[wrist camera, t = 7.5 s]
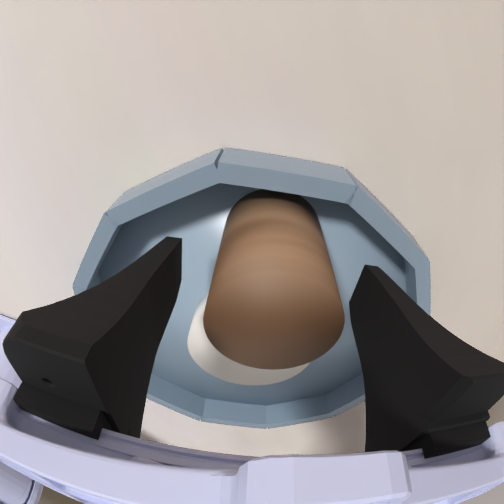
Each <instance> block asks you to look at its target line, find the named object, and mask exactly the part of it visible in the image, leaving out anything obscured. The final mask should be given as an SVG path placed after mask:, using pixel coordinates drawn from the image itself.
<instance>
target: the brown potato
mask: <svg viewBox="0 0 504 504" xmlns="http://www.w3.org/2000/svg"><path fill="white" fill-rule="evenodd" d="M344 324H345V314H344V309H343V305H342V301H341V297H340V294H339V290H338V286H337V282H336V278H335V275H334V271H333V267H332V264H331V260H330V257H329V253H328V250H327V246H326V243H325V239H324V236H323V232H322V229H321V226H320V222H319V219H318V216H317V214H316V212H315V210H314V208H313V207H312V206H311V205H310V203H309V202H308V201H307V200H306V199H304V198H303V197H302V196H300V195H297V194H291V193H285V192H278V191H272V190H266V189H259V190H256V191H253V192H251V193H249V194H247V195H245V196H244V197H242V198H241V199H240V200H239V201H237V203H236V204H235V205H234V206H233V207H232V209H231V210H230V212H229V214H228V216H227V219H226V223H225V227H224V231H223V235H222V239H221V243H220V247H219V251H218V255H217V260H216V264H215V268H214V272H213V276H212V281H211V285H210V289H209V293H208V298H207V302H206V306H205V311H204V317H203V326H204V330H205V333H206V336H207V338H208V339H209V341H210V342H211V344H212V345H213V346H214V347H215V348H216V349H217V350H218V351H219V352H220V353H221V354H223V355H224V356H226V357H227V358H229V359H231V360H232V361H235V362H237V363H239V364H242V365H245V366H249V367H253V368H259V369H270V370H276V369H288V368H293V367H297V366H301V365H304V364H307V363H309V362H312V361H314V360H316V359H318V358H319V357H321V356H322V355H324V354H325V353H326V352H328V351H329V350H330V349H331V348H332V347H333V346H334V345H335V344H336V342H337V341H338V340H339V338H340V336H341V334H342V331H343V329H344Z"/></svg>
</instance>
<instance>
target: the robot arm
mask: <svg viewBox="0 0 504 504" xmlns="http://www.w3.org/2000/svg"><path fill="white" fill-rule="evenodd" d="M181 281H182V238H176V237H169V236H167V237H165V238H164V239H163V240H161V241H160V242H159V243H157V244H156V245H155V246H154V247H152V248H151V249H150V250H149V251H147V252H146V253H145V254H144V255H142V256H141V257H140V258H138V259H137V260H136V261H134V262H133V263H132V264H130V265H129V266H127V267H126V268H124V269H123V270H121V271H120V272H119V273H117V274H115V275H114V276H112V277H111V278H109V279H107V280H105V281H103V282H102V283H100V284H98V285H96V286H94V287H92V288H90V289H88V290H86V291H84V292H81V293H79V294H77V295H75V296H72V297H70V298H67V299H65V300H62V301H59V302H56V303H53V304H50V305H47V306H44V307H40V308H36V309H32V310H28V311H24V312H22V313H21V315H20V316H19V317H18V319H17V320H14V319H11V318H8V317H5V316H3V315H0V504H38V502H39V500H40V497H41V493H42V490H43V485H44V486H47V487H49V488H51V489H53V490H55V491H57V492H59V493H62V494H64V495H66V496H68V497H70V498H73V499H75V500H78V501H80V502H82V503H85V504H459V503H461V502H464V501H466V500H468V499H471V498H473V497H476V496H478V495H480V494H482V493H485V492H487V491H489V490H490V489H492V488H494V487H495V486H497V485H499V484H501V483H502V482H504V421H501V422H498V423H495V424H492V425H491V426H489V427H487V424H486V421H487V420H488V419H489V418H490V416H489V413H488V410H489V409H490V408H491V407H492V406H493V405H494V404H495V403H496V402H497V401H498V400H499V399H500V398H501V397H502V396H503V395H504V363H503V362H501V361H499V360H497V359H495V358H493V357H490V356H488V355H486V354H484V353H482V352H481V351H479V350H477V349H475V348H474V347H472V346H470V345H469V344H467V343H465V342H464V341H462V340H461V339H459V338H458V337H456V336H455V335H454V334H452V333H451V332H449V331H448V330H447V329H445V328H444V327H443V326H442V325H440V324H439V323H438V322H437V321H435V320H434V319H433V318H432V317H431V316H430V315H428V314H427V313H426V312H425V311H424V310H423V309H422V308H421V307H420V306H419V305H418V304H417V303H416V302H414V301H413V300H412V299H411V298H410V297H409V296H408V295H407V294H406V293H405V292H404V291H403V290H402V289H401V288H400V287H399V286H398V285H397V284H396V283H395V282H394V281H393V280H392V279H391V278H390V277H389V276H388V275H387V274H386V273H385V272H384V271H383V270H382V269H381V268H379V267H378V266H372V265H364V267H363V270H362V272H361V275H360V277H359V280H358V282H357V284H356V287H355V289H354V292H353V294H352V296H351V299H350V301H349V310H350V319H351V326H352V330H353V334H354V338H355V342H356V346H357V350H358V354H359V359H360V363H361V367H362V372H363V378H364V389H365V402H366V444H365V452H363V453H348V454H324V455H293V454H292V455H269V456H265V457H253V456H242V455H232V454H223V453H215V452H208V451H201V450H194V449H188V448H183V447H177V446H172V445H167V444H162V443H157V442H153V441H149V440H144V439H140V432H141V425H142V419H143V413H144V407H145V402H146V397H147V392H148V387H149V382H150V378H151V374H152V369H153V365H154V361H155V357H156V354H157V351H158V348H159V345H160V342H161V339H162V337H163V334H164V332H165V329H166V327H167V324H168V322H169V319H170V316H171V314H172V311H173V309H174V306H175V304H176V301H177V297H178V293H179V289H180V285H181Z"/></svg>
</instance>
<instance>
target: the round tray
mask: <svg viewBox="0 0 504 504" xmlns="http://www.w3.org/2000/svg"><path fill="white" fill-rule="evenodd" d="M259 189H266V190H272V191H278V192H285V193H291V194H297V195H300V196H302V197H303V198H304V199H306V200H307V201H308V202H309V203H310V205H311V206H312V207H313V208H314V210H315V212H316V214H317V216H318V219H319V222H320V226H321V229H322V232H323V236H324V239H325V243H326V246H327V250H328V253H329V257H330V260H331V264H332V267H333V271H334V275H335V278H336V282H337V286H338V290H339V294H340V297H341V301H342V305H343V309H344V314H345V324H344V329H343V331H342V334H341V336H340V338H339V340H338V341H337V342H336V344H335V345H334V346H333V347H332V348H331V349H330V350H329V351H328V352H326V353H325V354H324V355H322V356H321V357H319V358H318V359H316V360H314V361H312V362H309V363H307V364H304V365H301V366H297V367H293V368H288V369H276V370H270V369H259V368H253V367H249V366H245V365H242V364H239V363H237V362H235V361H232V360H231V359H229V358H227V357H226V356H224V355H223V354H221V353H220V352H219V351H218V350H217V349H216V348H215V347H214V346H213V345H212V344H211V342H210V341H209V339H208V338H207V336H206V333H205V330H204V326H203V317H204V311H205V306H206V302H207V298H208V293H209V289H210V285H211V281H212V276H213V272H214V268H215V264H216V260H217V255H218V251H219V247H220V243H221V239H222V235H223V231H224V227H225V223H226V219H227V216H228V214H229V212H230V210H231V209H232V207H233V206H234V205H235V204H236V203H237V201H239V200H240V199H241V198H242V197H244V196H245V195H247V194H249V193H251V192H253V191H256V190H259ZM167 236H169V237H176V238H182V281H181V285H180V289H179V293H178V297H177V301H176V304H175V306H174V309H173V311H172V314H171V316H170V319H169V322H168V324H167V327H166V329H165V332H164V334H163V337H162V339H161V342H160V345H159V348H158V351H157V354H156V357H155V361H154V365H153V369H152V374H151V378H150V382H149V387H148V392H147V397H146V398H148V399H150V400H152V401H154V402H156V403H158V404H161V405H163V406H165V407H167V408H169V409H172V410H174V411H176V412H179V413H181V414H184V415H186V416H188V417H191V418H193V419H196V420H198V421H199V420H201V421H203V422H210V423H217V424H224V425H233V426H242V427H252V428H264V429H266V428H268V429H269V428H276V427H283V426H289V425H295V424H300V423H306V422H311V421H316V420H321V419H326V418H331V417H332V416H336V415H338V414H340V413H342V412H344V411H346V410H348V409H350V408H352V407H353V406H355V405H357V404H359V403H361V402H363V401H364V400H365V389H364V378H363V372H362V367H361V363H360V359H359V354H358V350H357V346H356V342H355V338H354V334H353V330H352V326H351V319H350V310H349V301H350V299H351V296H352V294H353V292H354V289H355V287H356V284H357V282H358V280H359V277H360V275H361V272H362V270H363V267H364V265H372V266H378V267H379V268H381V269H382V270H383V271H384V272H385V273H386V274H387V275H388V276H389V277H390V278H391V279H392V280H393V281H394V282H395V283H396V284H397V285H398V286H399V287H400V288H401V289H402V290H403V291H404V292H405V293H406V294H407V295H408V296H409V297H410V298H411V299H412V300H413V301H414V302H416V303H417V304H418V305H419V306H420V307H421V308H422V309H423V310H424V311H425V312H426V313H427V314H428V315H430V262H429V259H428V258H427V256H426V255H425V253H424V252H423V250H422V249H421V247H420V246H419V244H418V243H417V242H416V240H415V239H414V237H413V236H412V235H411V234H410V233H409V231H408V230H407V229H406V228H405V227H404V226H403V225H402V224H401V223H400V222H399V221H398V220H397V219H396V217H395V216H394V215H393V214H392V213H391V212H390V211H389V210H388V209H387V208H386V207H385V206H384V205H383V204H382V203H381V202H380V201H379V200H378V199H377V198H376V197H375V196H374V195H373V194H372V193H371V192H370V191H369V190H368V189H367V188H366V187H365V186H364V185H363V184H362V183H361V182H360V181H359V180H358V179H357V178H355V177H354V176H353V175H352V174H351V173H350V172H349V171H348V170H347V169H346V170H345V169H344V168H343V167H338V166H333V165H329V164H324V163H319V162H313V161H308V160H303V159H297V158H292V157H286V156H280V155H274V154H267V153H261V152H254V151H247V150H240V149H232V148H225V149H224V151H223V150H222V148H221V149H218V150H216V151H213V152H211V153H209V154H206V155H204V156H201V157H199V158H197V159H194V160H192V161H190V162H187V163H185V164H183V165H181V166H178V167H176V168H174V169H172V170H169V171H167V172H165V173H163V174H161V175H159V176H156V177H154V178H152V179H150V180H148V181H146V182H144V183H142V184H140V185H138V186H136V187H134V188H132V189H130V190H128V191H126V192H124V193H123V194H122V195H121V196H120V197H119V198H118V200H117V201H116V202H115V203H114V204H113V205H112V206H111V207H110V208H109V209H108V210H107V211H106V212H105V213H104V215H103V217H102V219H101V221H100V223H99V225H98V227H97V229H96V231H95V233H94V236H93V238H92V240H91V242H90V244H89V247H88V249H87V251H86V254H85V256H84V258H83V261H82V263H81V265H80V268H79V270H78V273H77V275H76V277H75V280H74V283H73V290H74V293H75V295H77V294H79V293H81V292H84V291H86V290H88V289H90V288H92V287H94V286H96V285H98V284H100V283H102V282H103V281H105V280H107V279H109V278H111V277H112V276H114V275H115V274H117V273H119V272H120V271H121V270H123V269H124V268H126V267H127V266H129V265H130V264H132V263H133V262H134V261H136V260H137V259H138V258H140V257H141V256H142V255H144V254H145V253H146V252H147V251H149V250H150V249H151V248H152V247H154V246H155V245H156V244H157V243H159V242H160V241H161V240H163V239H164V238H165V237H167Z"/></svg>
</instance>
